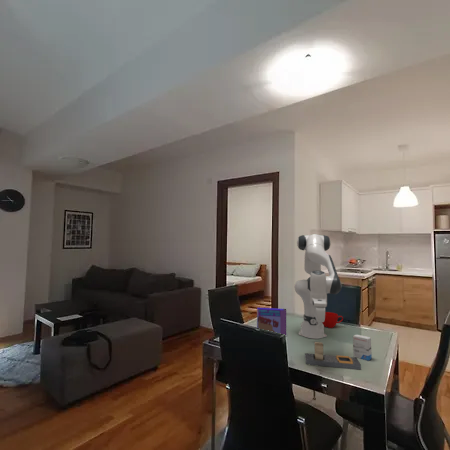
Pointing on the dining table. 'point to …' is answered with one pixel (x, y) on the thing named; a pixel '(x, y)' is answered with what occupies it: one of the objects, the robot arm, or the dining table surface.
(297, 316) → the dining table surface
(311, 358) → the rail
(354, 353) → the ink box
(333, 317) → the ceramic cup
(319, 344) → the peg
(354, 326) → the dining table surface
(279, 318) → the cereal box
